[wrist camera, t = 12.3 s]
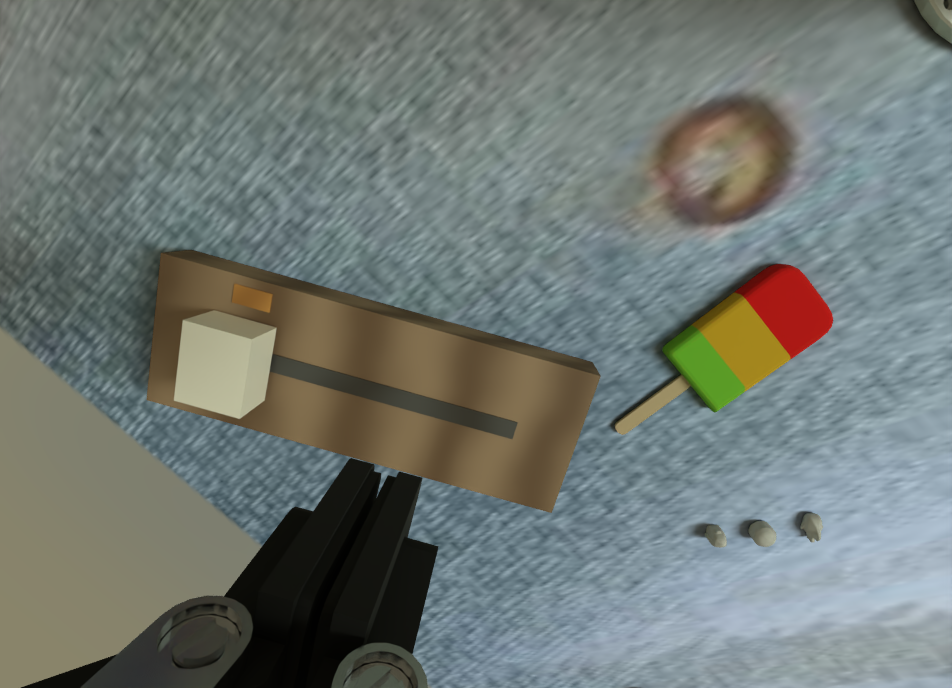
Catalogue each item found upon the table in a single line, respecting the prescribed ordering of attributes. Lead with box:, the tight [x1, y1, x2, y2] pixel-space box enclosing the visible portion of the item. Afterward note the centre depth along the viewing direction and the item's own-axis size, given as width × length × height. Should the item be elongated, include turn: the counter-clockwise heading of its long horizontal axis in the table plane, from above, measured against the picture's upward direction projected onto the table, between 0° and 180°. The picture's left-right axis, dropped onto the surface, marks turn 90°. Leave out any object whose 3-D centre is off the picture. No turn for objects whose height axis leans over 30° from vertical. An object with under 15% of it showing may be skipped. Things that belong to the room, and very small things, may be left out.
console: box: [147, 250, 600, 513], centre depth 33 cm, size 28×10×3 cm, turn 75°
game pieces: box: [705, 513, 823, 547], centre depth 34 cm, size 8×2×2 cm, turn 96°
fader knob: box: [174, 310, 277, 419], centre depth 29 cm, size 4×5×3 cm
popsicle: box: [615, 264, 833, 435], centre depth 32 cm, size 6×15×2 cm, turn 132°
